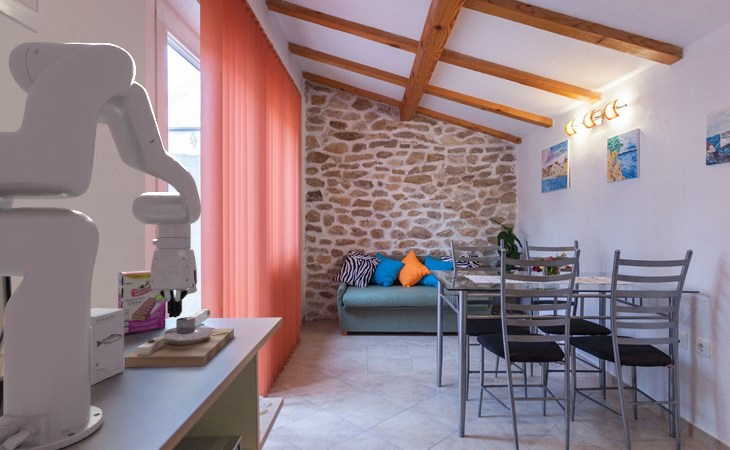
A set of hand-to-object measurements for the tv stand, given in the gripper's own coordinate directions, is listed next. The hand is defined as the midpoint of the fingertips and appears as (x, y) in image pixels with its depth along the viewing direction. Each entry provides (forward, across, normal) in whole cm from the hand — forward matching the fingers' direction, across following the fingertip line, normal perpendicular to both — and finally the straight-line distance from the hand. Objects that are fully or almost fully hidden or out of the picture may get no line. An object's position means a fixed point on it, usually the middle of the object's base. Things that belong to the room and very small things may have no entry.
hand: (174, 316), depth 100 cm
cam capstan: (+4, +6, -3) cm, 8 cm away
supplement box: (+6, -5, -24) cm, 25 cm away
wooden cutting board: (+6, +6, -8) cm, 12 cm away
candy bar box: (+6, -13, +10) cm, 17 cm away
